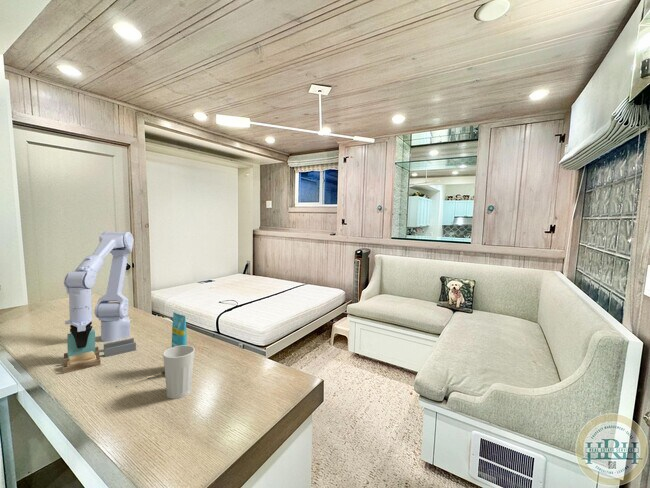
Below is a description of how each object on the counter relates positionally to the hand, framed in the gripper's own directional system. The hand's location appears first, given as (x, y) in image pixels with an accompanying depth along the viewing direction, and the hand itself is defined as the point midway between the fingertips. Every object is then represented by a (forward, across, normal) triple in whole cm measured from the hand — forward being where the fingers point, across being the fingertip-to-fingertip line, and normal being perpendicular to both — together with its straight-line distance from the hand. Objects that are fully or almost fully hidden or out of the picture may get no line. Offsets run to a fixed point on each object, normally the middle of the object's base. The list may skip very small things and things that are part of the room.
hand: (81, 345), depth 95 cm
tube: (+6, +27, +24) cm, 36 cm away
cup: (+6, +39, +20) cm, 44 cm away
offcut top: (+3, +6, 0) cm, 7 cm away
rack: (+5, +2, 0) cm, 6 cm away
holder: (+5, 0, +10) cm, 12 cm away
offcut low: (+4, +6, 0) cm, 7 cm away
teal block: (+4, 0, 0) cm, 4 cm away
